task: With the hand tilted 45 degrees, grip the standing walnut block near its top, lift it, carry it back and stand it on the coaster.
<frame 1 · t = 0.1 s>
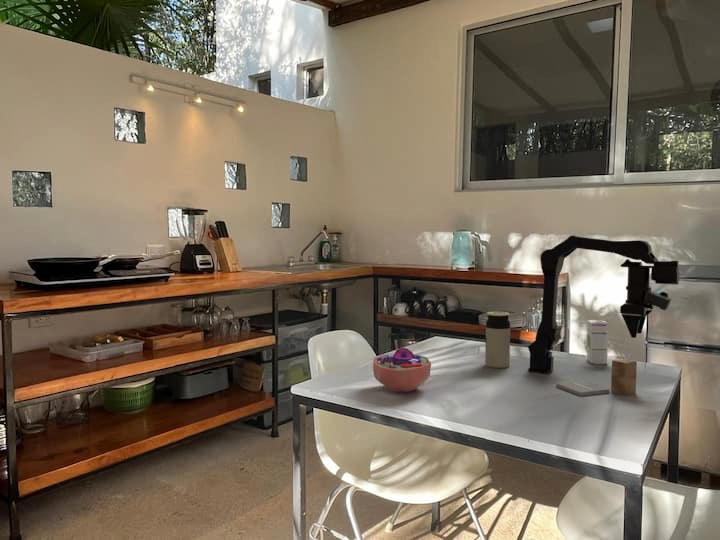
hand: (636, 335, 162), 15 cm above the table, tool pointing down, fingers open, 9 cm apart
travel mug: (497, 366, 186), on the table
walnut block: (623, 392, 154), on the table
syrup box: (596, 362, 192), on the table
cell model: (401, 390, 157), on the table
coaster: (582, 389, 157), on the table
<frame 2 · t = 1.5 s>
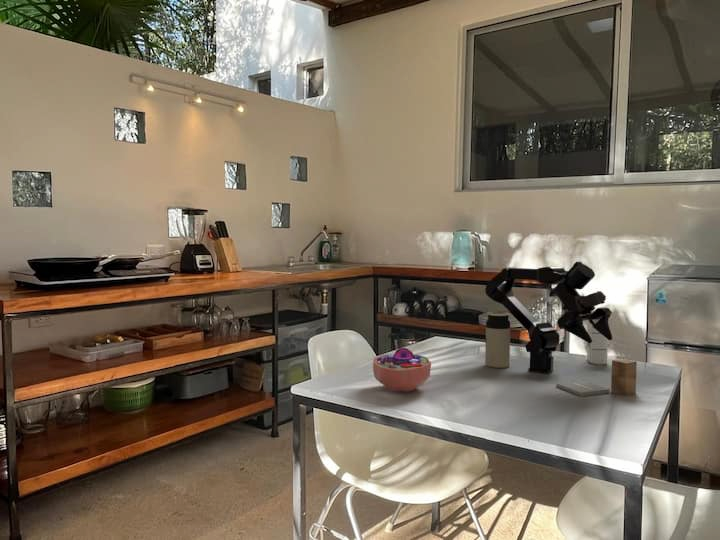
hand: (601, 340, 160), 13 cm above the table, tool tilted 45°, fingers open, 9 cm apart
nothing on the table moved.
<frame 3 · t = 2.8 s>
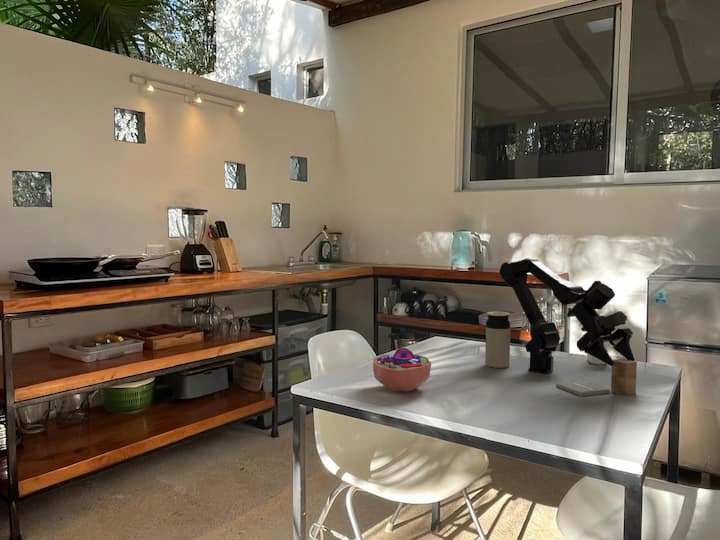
hand: (623, 363, 154), 8 cm above the table, tool tilted 45°, fingers open, 9 cm apart
nothing on the table moved.
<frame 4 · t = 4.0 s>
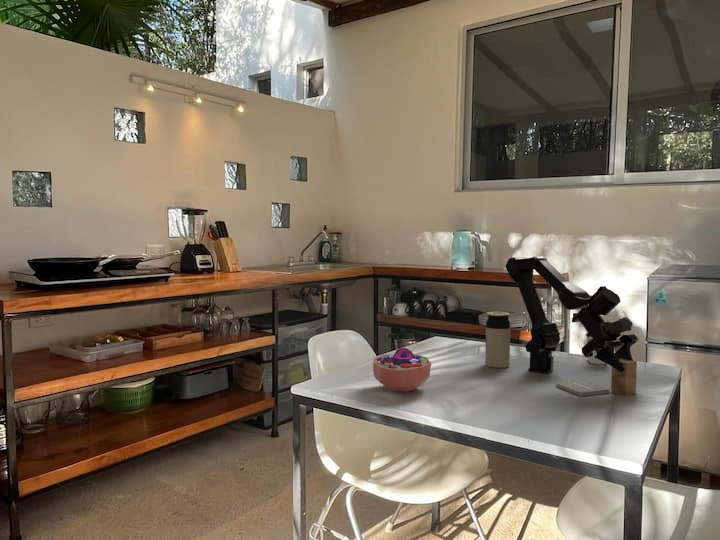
hand: (628, 370, 153), 7 cm above the table, tool tilted 45°, fingers closed on walnut block, 4 cm apart
walnut block: (623, 392, 154), on the table, touching gripper
everything else where it was.
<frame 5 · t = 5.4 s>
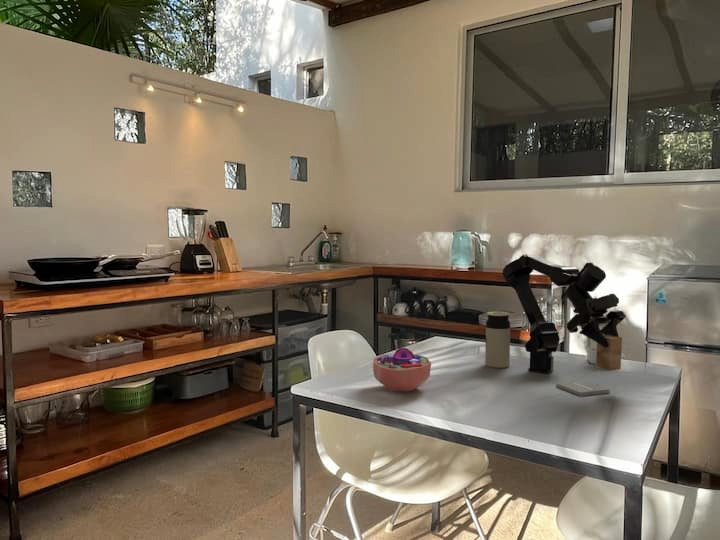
hand: (613, 345, 153), 13 cm above the table, tool tilted 45°, fingers closed on walnut block, 4 cm apart
walnut block: (608, 368, 155), point 7 cm above the table, touching gripper
everything else where it was.
when the fingers open (9 cm above the table, at t = 7.1 s): walnut block drops 1 cm, resting on coaster.
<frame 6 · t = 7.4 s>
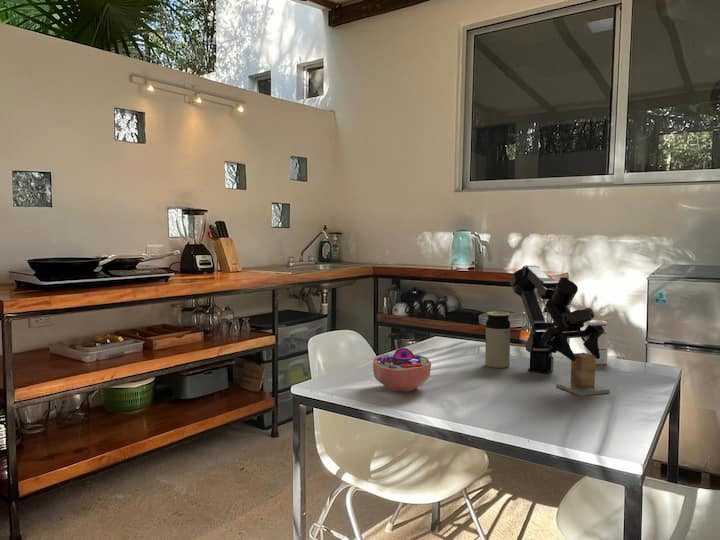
hand: (586, 359, 155), 9 cm above the table, tool tilted 45°, fingers open, 8 cm apart
walnut block: (582, 386, 157), point 1 cm above the table, touching coaster
everything else where it was.
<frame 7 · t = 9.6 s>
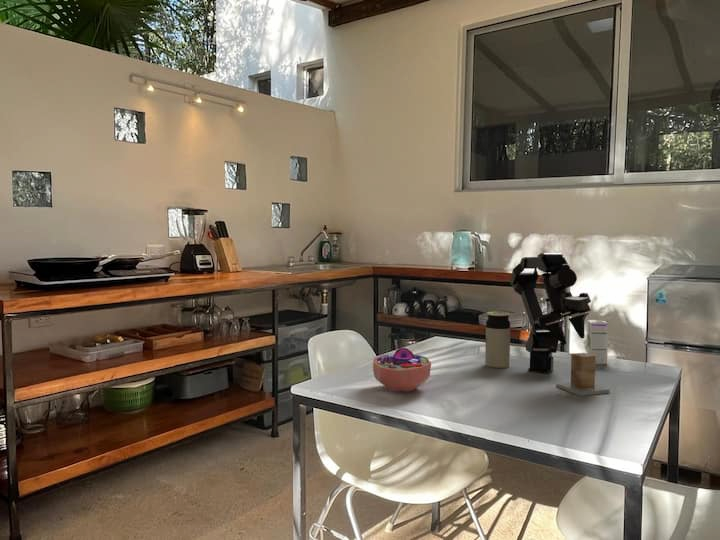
hand: (573, 341, 166), 12 cm above the table, tool tilted 20°, fingers open, 9 cm apart
nothing on the table moved.
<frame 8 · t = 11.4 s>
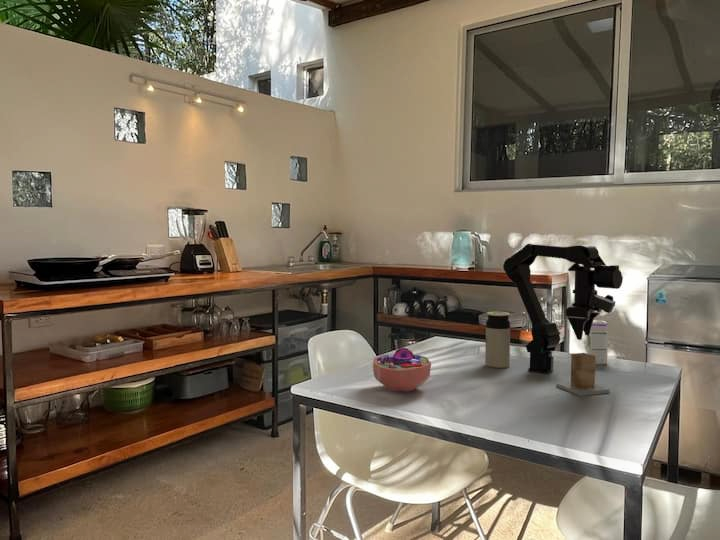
hand: (583, 337, 168), 13 cm above the table, tool pointing down, fingers open, 9 cm apart
nothing on the table moved.
at the end: walnut block inside the target area on the coaster (0.0 cm from its centre), point 1.1 cm above the coaster's base; walnut block touching coaster; walnut block tilted 0° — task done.
